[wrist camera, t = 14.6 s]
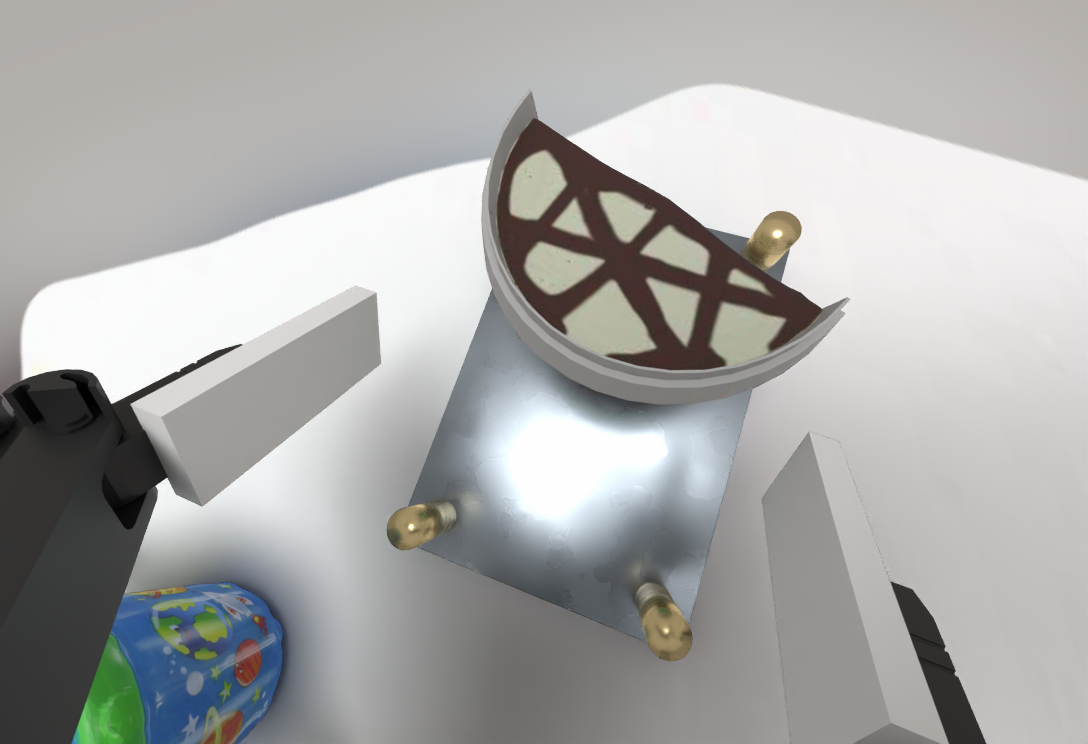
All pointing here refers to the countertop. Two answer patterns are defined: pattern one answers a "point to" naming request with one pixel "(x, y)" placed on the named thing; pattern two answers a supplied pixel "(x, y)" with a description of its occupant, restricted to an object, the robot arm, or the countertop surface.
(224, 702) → the snack cup
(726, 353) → the food container
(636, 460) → the post plate
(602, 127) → the countertop surface
